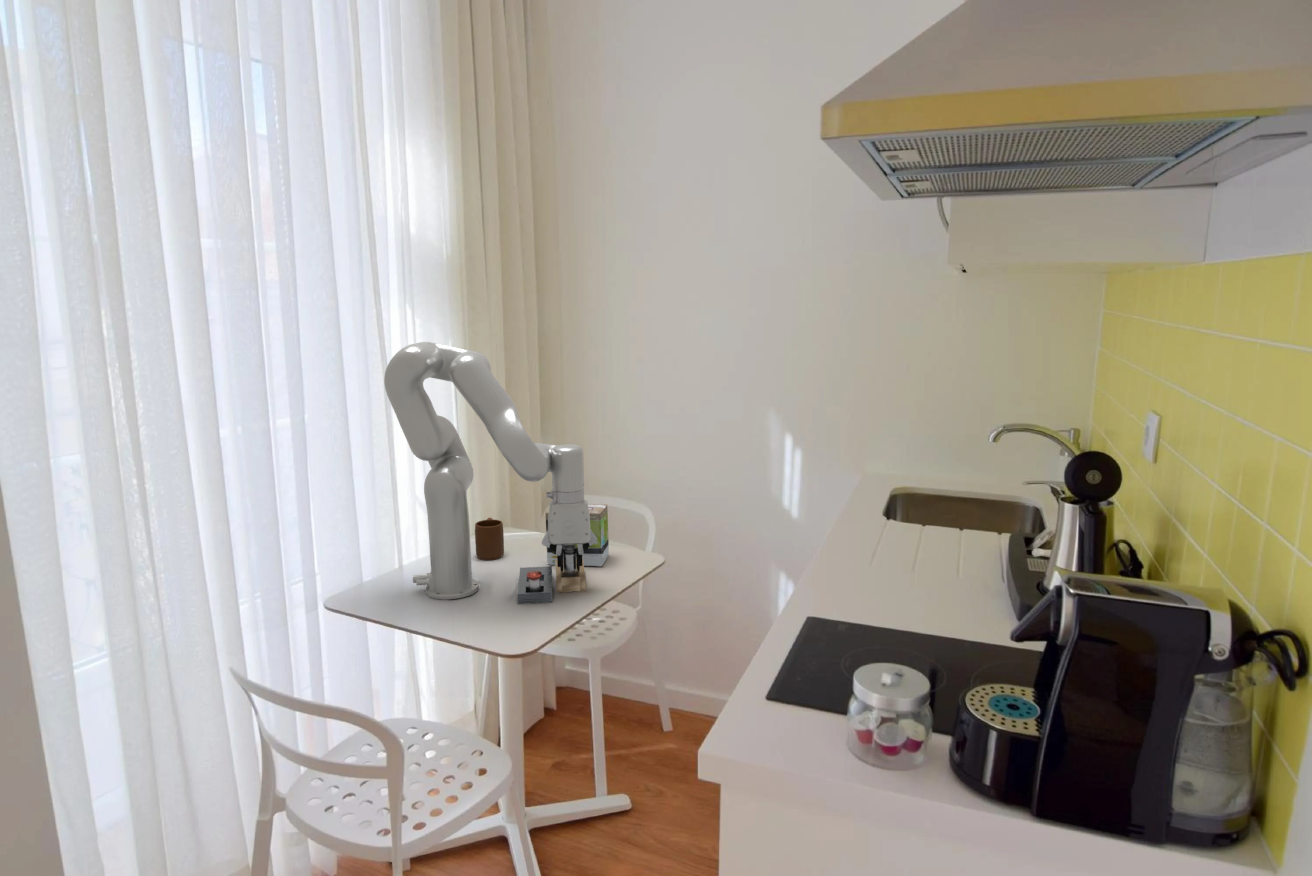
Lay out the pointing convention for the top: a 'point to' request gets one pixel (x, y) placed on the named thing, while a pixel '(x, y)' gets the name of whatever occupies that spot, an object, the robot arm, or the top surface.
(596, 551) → the tea box
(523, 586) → the socket block
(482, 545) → the mug
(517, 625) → the top surface
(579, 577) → the rack
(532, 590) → the red topped peg
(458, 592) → the robot arm
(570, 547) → the grey metal cylinder
